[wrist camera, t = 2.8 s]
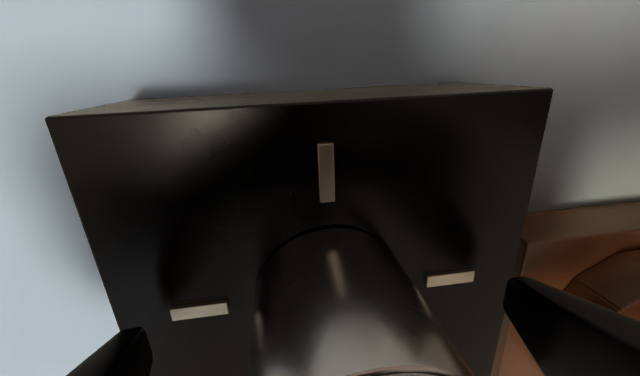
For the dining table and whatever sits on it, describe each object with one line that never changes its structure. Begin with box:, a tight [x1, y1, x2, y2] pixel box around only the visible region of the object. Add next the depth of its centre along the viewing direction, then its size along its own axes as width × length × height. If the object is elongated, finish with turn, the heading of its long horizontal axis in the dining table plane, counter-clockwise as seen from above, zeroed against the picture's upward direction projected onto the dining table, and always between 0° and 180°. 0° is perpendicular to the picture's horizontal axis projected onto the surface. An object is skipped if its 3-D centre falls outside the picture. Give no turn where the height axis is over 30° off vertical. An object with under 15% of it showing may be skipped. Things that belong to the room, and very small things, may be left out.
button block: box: [491, 201, 640, 376], centre depth 14 cm, size 10×9×4 cm
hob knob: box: [248, 228, 474, 376], centre depth 6 cm, size 4×4×4 cm
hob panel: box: [45, 82, 553, 376], centre depth 10 cm, size 11×10×4 cm
